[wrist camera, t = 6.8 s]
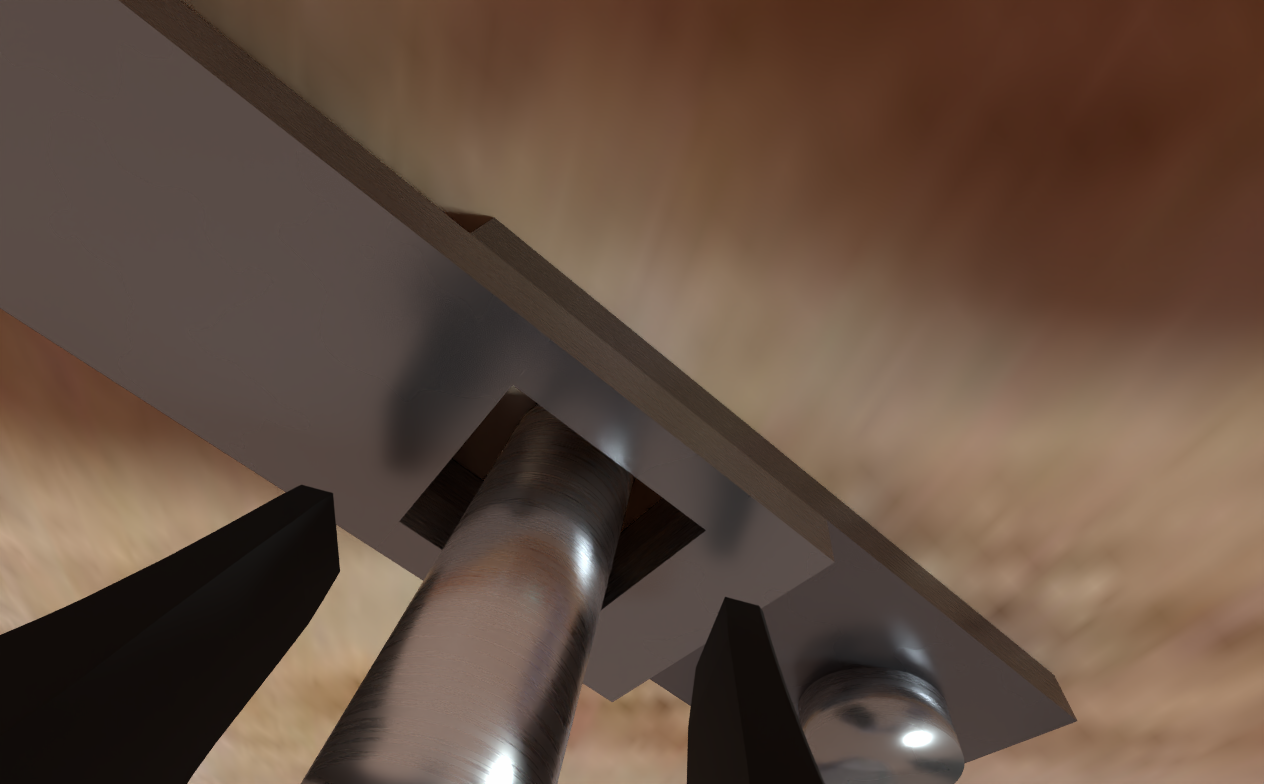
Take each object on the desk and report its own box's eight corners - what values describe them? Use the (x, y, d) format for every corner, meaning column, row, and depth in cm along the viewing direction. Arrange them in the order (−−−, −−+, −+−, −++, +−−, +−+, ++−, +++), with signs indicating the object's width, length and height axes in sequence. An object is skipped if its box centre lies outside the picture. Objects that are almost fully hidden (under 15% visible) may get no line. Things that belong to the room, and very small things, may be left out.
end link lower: (1054, 675, 15) (1104, 773, 13) (838, 766, 18) (851, 855, 16) (494, 217, 11) (440, 252, 9) (351, 432, 15) (287, 493, 13)
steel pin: (649, 418, 13) (552, 811, 6) (623, 516, 15) (521, 918, 8) (520, 384, 13) (285, 734, 6) (508, 484, 15) (307, 854, 8)
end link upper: (819, 484, 13) (834, 562, 11) (628, 622, 17) (612, 702, 15) (72, -127, 10) (-108, -178, 8) (17, 203, 13) (-120, 231, 11)
